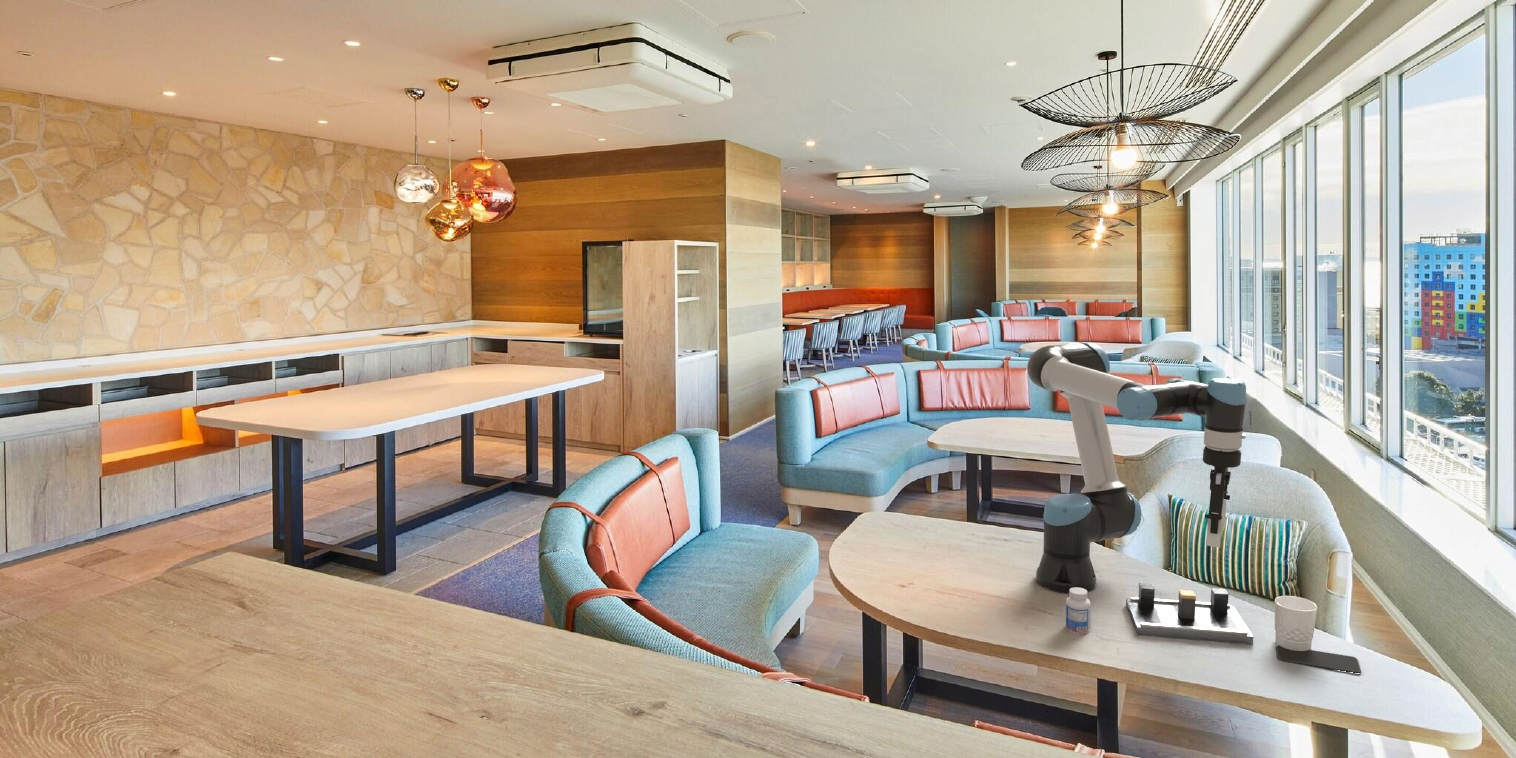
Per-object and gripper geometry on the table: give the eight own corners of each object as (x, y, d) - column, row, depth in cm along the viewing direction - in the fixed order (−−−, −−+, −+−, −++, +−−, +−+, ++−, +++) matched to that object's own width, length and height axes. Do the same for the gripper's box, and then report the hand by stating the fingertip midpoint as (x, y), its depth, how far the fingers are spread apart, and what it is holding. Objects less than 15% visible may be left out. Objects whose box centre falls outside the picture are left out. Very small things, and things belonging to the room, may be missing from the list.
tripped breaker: (1180, 618, 194) (1181, 595, 193) (1177, 612, 197) (1179, 589, 196) (1194, 619, 193) (1195, 595, 192) (1191, 613, 196) (1192, 590, 195)
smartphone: (1275, 643, 184) (1357, 656, 177) (1274, 647, 184) (1357, 660, 177) (1276, 658, 178) (1362, 672, 170) (1276, 663, 178) (1362, 677, 170)
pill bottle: (1071, 621, 199) (1072, 583, 197) (1093, 628, 195) (1095, 589, 194) (1061, 629, 195) (1062, 591, 194) (1083, 636, 191) (1084, 597, 190)
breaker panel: (1136, 635, 191) (1137, 607, 190) (1125, 605, 206) (1126, 579, 205) (1252, 644, 185) (1254, 615, 183) (1232, 613, 200) (1234, 586, 199)
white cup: (1320, 654, 179) (1324, 611, 178) (1280, 652, 181) (1283, 610, 179) (1304, 637, 187) (1307, 596, 185) (1266, 636, 188) (1269, 594, 187)
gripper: (1238, 463, 174) (1230, 558, 178) (1244, 436, 194) (1237, 521, 198) (1198, 459, 178) (1191, 551, 182) (1208, 432, 198) (1202, 516, 202)
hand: (1215, 535), depth 190 cm, fingers open, 13 cm apart
